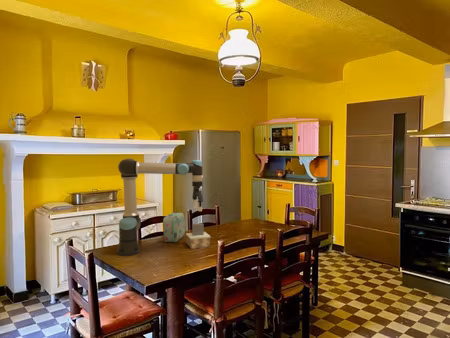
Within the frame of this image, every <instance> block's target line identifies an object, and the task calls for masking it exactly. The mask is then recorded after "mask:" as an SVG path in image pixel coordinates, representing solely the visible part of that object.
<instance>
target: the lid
mask: <svg viewBox="0 0 450 338" xmlns="http://www.w3.org/2000/svg"><path fill="white" fill-rule="evenodd" d="M191 226H192V227H191V229H192V230H191V232H188V233H187V232H186V233H185V236H186V237H187V236H188V237H189V238H190V239H201V238H210V239H211V235H210V234H208V233H207V232H206V231H205V229H204V228H205V227H204V226H205V225H204V223H192V224H191Z"/></svg>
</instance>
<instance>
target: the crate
mask: <svg viewBox="0 0 450 338" xmlns="http://www.w3.org/2000/svg"><path fill="white" fill-rule="evenodd" d="M210 242H211V238H201V239H190V238H189V237H188V236H187V235H186V245H187V246H188V247H189V248H190V250H193V249H203V248H210V247H211V243H210Z"/></svg>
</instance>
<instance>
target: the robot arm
mask: <svg viewBox="0 0 450 338" xmlns="http://www.w3.org/2000/svg"><path fill="white" fill-rule="evenodd" d="M117 169H118V171H119V173H120V178H121V179H122V181H123V182H122V183H123V199H124V201H123V203H124V204H123V206H124V213H123V214H122V218H121V219H120V220H119V223H118V231H119V233H118V234H119V242H118V245H117V249H116V253H117V255H119V256H123V257H124V256H133V255H134V256H135V255H137V254H139V253H140V252H141V251H140V245H139V243H138V237H137V236H138V231H139V229H140V227H141V220H140V213H139V212H138V207H137V182H136V180H137V178H138V175H139V174H145V175H146V174H148V175H149V174H153V175H154V174H155V175H156V174H157V175H180V176H181V175H183V176H184V175H185V176H186V175H187V174H191V181H192V182H191V184H192V185H191V186H192V187H193V189H192V206H193V207H192V209H198V210H197V211H198V212H202V211H203V202H204V199H203V192H202V190H203V189H202V188H201V187H203V178H204V176H203V161H202V160H201V159H193V160H192V161H191V162H177V163H176V162H175V163H174V162H173V163H171V162H168V163H167V162H164V163H163V162H141V161H138V160H135V159H133V158H124V159H122V160H121V161H119V163H118V166H117Z"/></svg>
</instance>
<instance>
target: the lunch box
mask: <svg viewBox="0 0 450 338" xmlns="http://www.w3.org/2000/svg"><path fill="white" fill-rule="evenodd" d="M162 227H163V238H164V242H165V243H166V242H167V243H176V242H177V243H178V242H179V241H180V239H182V238H183V237H184V236H185V234H186V233H185V232H186V231H185V230H186V223H185V215H184V213H183V212H172V213H170V214H168V215H166V216H165V217H163V220H162Z"/></svg>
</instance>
